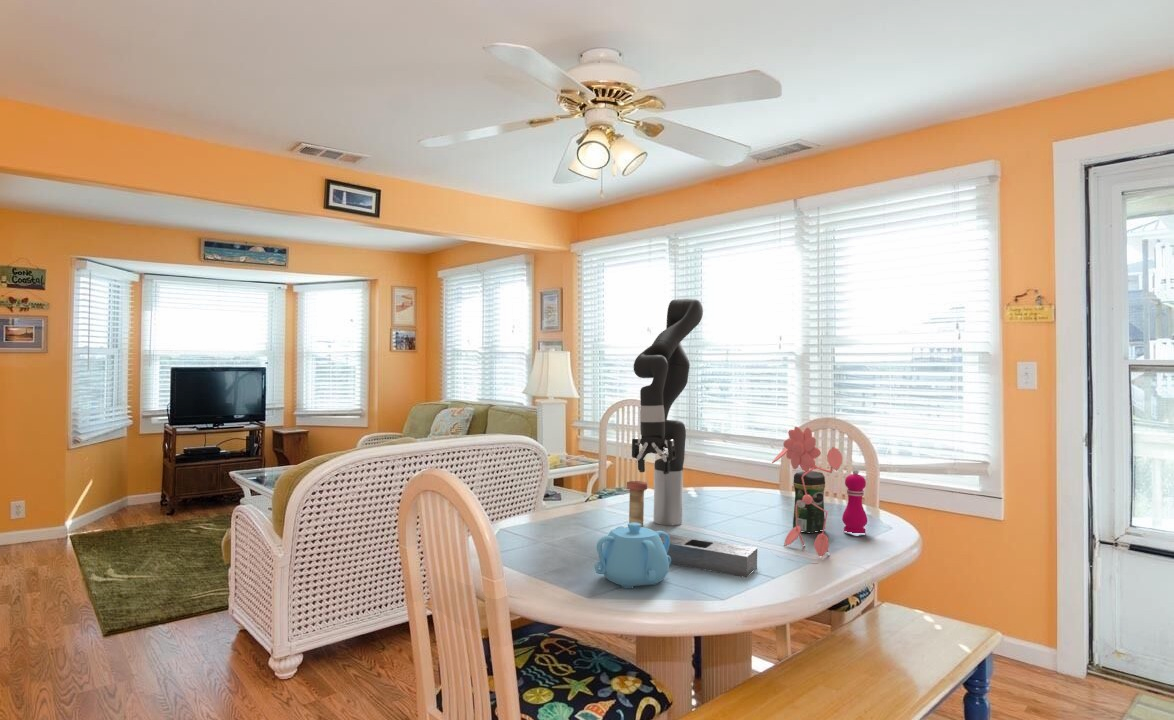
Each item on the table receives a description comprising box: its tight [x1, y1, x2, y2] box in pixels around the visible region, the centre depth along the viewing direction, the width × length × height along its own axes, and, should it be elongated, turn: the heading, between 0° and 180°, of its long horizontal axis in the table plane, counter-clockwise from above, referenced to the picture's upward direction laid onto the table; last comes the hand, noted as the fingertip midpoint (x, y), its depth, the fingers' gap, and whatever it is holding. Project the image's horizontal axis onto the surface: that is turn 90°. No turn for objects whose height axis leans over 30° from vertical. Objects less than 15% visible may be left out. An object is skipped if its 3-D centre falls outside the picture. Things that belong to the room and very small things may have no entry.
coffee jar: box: [792, 470, 826, 533], centre depth 207 cm, size 10×8×19 cm
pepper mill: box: [841, 468, 868, 534], centre depth 204 cm, size 7×7×20 cm
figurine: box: [771, 426, 843, 557], centre depth 181 cm, size 15×26×35 cm, turn 27°
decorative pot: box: [594, 522, 671, 589], centre depth 155 cm, size 16×16×14 cm
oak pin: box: [626, 480, 648, 527], centre depth 184 cm, size 6×6×18 cm
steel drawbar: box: [659, 533, 758, 578], centre depth 170 cm, size 9×28×5 cm, turn 60°
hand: (654, 473), depth 201 cm, fingers open, 8 cm apart
